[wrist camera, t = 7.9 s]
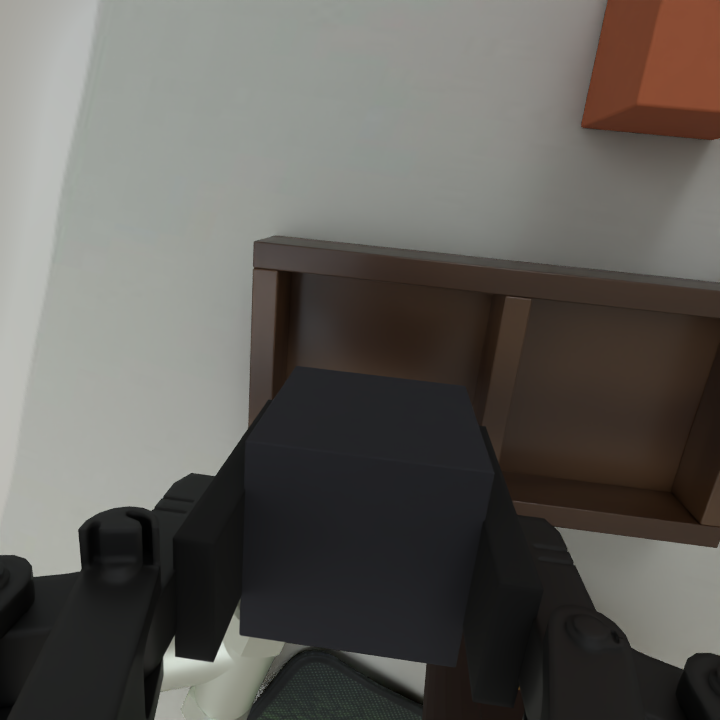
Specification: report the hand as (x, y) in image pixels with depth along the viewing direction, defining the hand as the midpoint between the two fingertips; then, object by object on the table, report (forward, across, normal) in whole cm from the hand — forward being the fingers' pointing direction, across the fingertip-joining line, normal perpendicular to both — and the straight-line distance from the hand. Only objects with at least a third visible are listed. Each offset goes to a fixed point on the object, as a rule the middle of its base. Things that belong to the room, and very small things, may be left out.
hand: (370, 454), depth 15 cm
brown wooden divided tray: (+8, +5, 0) cm, 10 cm away
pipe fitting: (+9, -7, -16) cm, 19 cm away
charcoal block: (0, 0, 0) cm, 0 cm away
